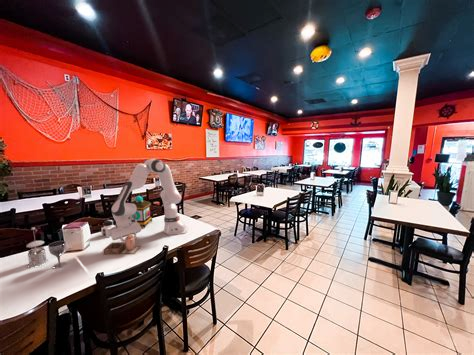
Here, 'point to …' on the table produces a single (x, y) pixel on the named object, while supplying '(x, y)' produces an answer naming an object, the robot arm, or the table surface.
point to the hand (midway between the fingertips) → (130, 240)
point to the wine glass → (57, 252)
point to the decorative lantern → (142, 211)
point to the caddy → (119, 249)
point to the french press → (39, 256)
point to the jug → (130, 242)
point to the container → (107, 228)
